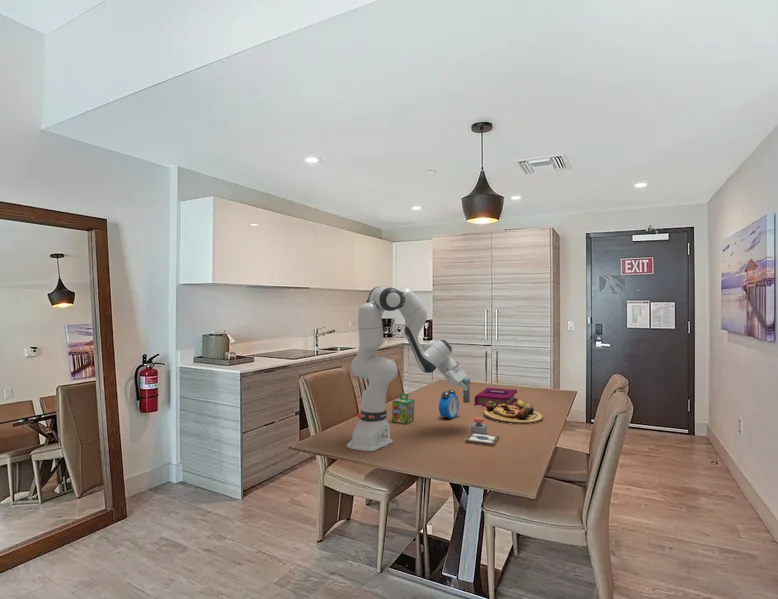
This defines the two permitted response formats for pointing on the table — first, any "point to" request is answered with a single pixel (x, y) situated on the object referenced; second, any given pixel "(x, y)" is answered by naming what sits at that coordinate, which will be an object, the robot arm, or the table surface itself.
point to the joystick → (466, 393)
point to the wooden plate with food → (512, 413)
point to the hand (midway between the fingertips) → (467, 389)
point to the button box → (479, 429)
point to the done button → (478, 421)
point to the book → (495, 396)
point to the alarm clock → (448, 404)
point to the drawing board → (482, 439)
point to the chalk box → (403, 409)
